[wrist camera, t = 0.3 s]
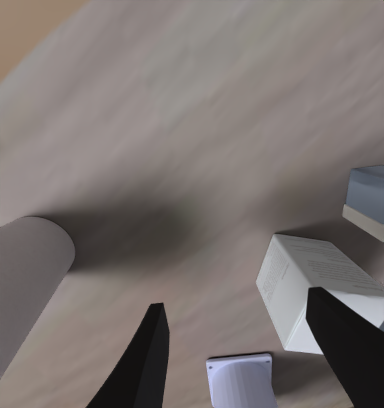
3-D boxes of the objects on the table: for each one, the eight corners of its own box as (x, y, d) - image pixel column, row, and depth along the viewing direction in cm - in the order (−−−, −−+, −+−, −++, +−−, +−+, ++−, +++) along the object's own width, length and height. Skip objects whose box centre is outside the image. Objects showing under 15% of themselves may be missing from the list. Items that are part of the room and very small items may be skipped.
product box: (253, 281, 23) (281, 352, 16) (272, 230, 20) (314, 287, 14) (308, 289, 23) (358, 361, 16) (332, 241, 21) (402, 300, 14)
